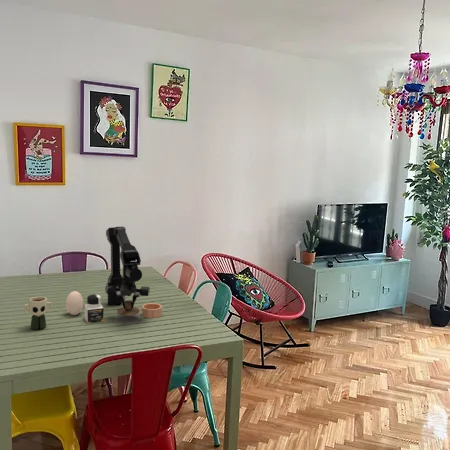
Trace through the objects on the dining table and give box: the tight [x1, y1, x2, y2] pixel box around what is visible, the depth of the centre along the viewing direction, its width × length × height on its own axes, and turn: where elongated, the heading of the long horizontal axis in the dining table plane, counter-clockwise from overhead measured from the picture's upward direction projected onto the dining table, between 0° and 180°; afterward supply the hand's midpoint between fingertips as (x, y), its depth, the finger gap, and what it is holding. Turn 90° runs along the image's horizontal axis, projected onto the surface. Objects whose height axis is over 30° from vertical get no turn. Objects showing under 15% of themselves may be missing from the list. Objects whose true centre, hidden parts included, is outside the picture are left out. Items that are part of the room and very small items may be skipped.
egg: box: [65, 290, 84, 316], centre depth 215 cm, size 8×8×11 cm
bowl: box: [140, 302, 163, 319], centre depth 219 cm, size 10×10×4 cm
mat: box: [113, 314, 143, 325], centre depth 212 cm, size 11×11×1 cm
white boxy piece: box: [84, 294, 105, 324], centre depth 208 cm, size 7×7×12 cm
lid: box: [116, 299, 140, 316], centre depth 211 cm, size 10×10×5 cm
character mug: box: [23, 296, 53, 330], centre depth 197 cm, size 11×7×13 cm, turn 119°
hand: (128, 308), depth 211 cm, fingers closed on lid, 3 cm apart
